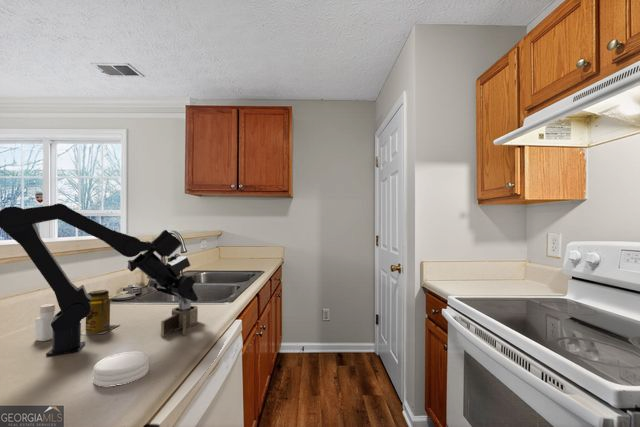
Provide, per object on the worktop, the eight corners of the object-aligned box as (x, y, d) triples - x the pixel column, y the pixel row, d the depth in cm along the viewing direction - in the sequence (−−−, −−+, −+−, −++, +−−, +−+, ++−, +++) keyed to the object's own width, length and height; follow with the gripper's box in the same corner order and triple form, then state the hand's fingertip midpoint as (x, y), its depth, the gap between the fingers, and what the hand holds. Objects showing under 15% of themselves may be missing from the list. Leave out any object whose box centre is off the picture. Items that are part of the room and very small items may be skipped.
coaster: (80, 389, 61) (81, 370, 61) (114, 366, 71) (114, 350, 71) (131, 388, 61) (131, 370, 61) (157, 365, 71) (157, 350, 71)
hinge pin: (190, 325, 99) (190, 293, 99) (178, 326, 98) (178, 294, 98) (190, 321, 102) (190, 291, 103) (178, 323, 101) (178, 292, 101)
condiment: (77, 335, 91) (78, 294, 91) (97, 325, 99) (98, 288, 100) (103, 334, 91) (103, 293, 92) (120, 325, 100) (121, 288, 100)
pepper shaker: (42, 342, 85) (43, 307, 86) (33, 340, 87) (34, 306, 87) (59, 337, 89) (60, 304, 89) (50, 335, 90) (51, 303, 91)
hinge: (198, 333, 91) (198, 316, 91) (160, 339, 87) (160, 321, 87) (197, 319, 105) (197, 304, 105) (164, 323, 101) (164, 307, 101)
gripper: (189, 249, 92) (221, 281, 101) (159, 247, 103) (189, 275, 112) (162, 279, 86) (198, 311, 94) (133, 273, 97) (168, 302, 105)
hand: (189, 298), depth 101 cm, fingers open, 9 cm apart
